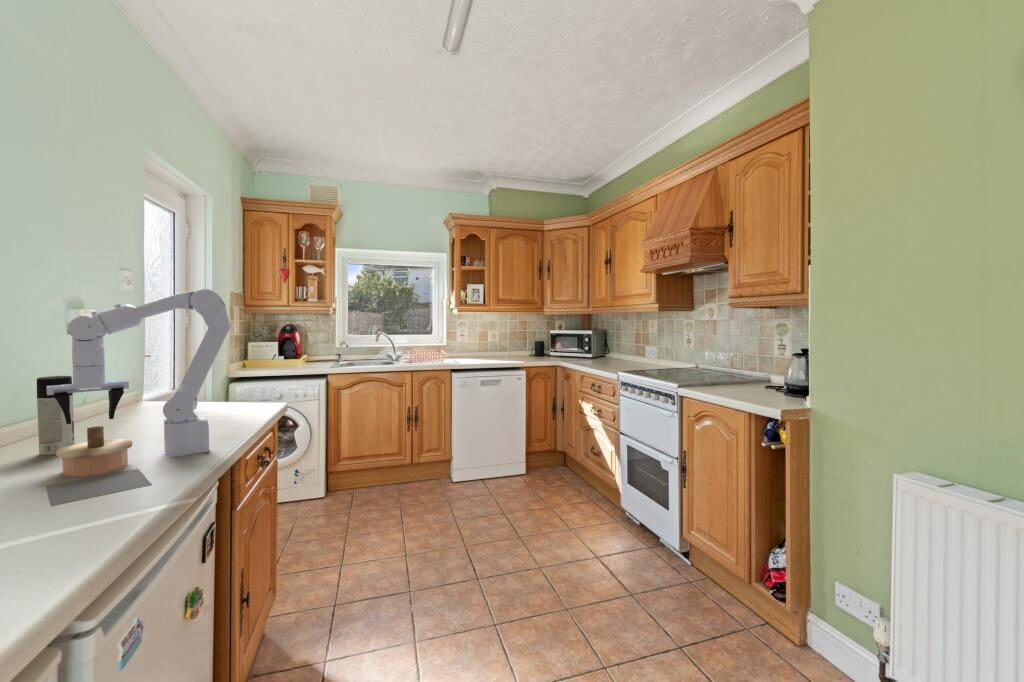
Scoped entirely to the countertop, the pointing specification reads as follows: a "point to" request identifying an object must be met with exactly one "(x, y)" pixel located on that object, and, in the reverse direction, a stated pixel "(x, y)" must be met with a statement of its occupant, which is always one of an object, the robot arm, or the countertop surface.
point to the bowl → (94, 464)
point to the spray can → (53, 417)
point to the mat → (95, 486)
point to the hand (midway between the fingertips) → (90, 421)
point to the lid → (94, 445)
